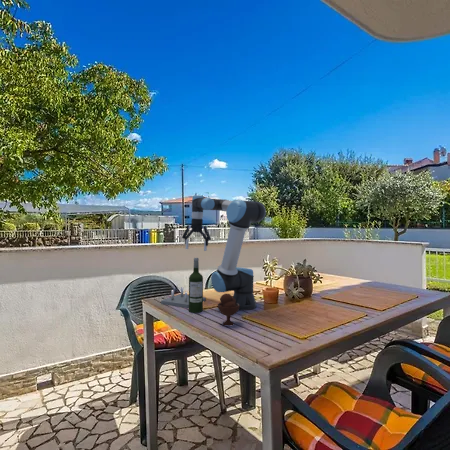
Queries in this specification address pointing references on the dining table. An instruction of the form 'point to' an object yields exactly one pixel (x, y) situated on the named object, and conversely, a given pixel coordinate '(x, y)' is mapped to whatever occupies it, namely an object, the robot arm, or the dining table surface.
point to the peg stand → (178, 300)
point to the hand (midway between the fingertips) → (195, 249)
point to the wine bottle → (196, 289)
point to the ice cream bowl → (228, 307)
